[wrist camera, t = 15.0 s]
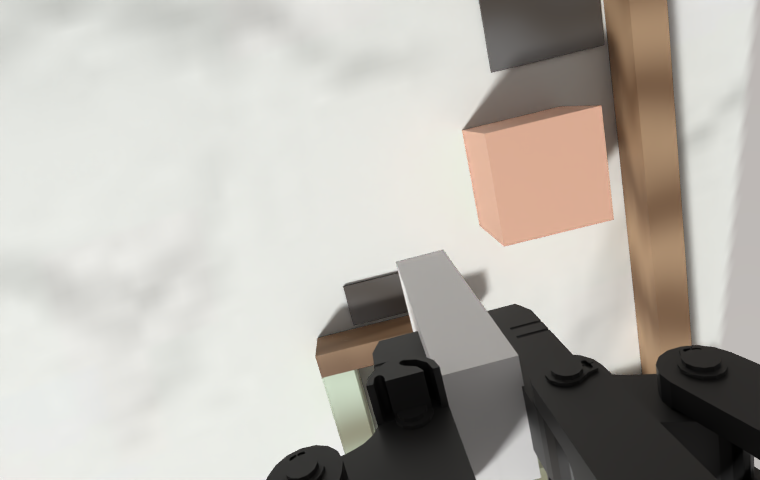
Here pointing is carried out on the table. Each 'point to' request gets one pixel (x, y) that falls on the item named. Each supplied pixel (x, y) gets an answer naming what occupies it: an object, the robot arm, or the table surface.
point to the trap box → (639, 178)
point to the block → (540, 173)
